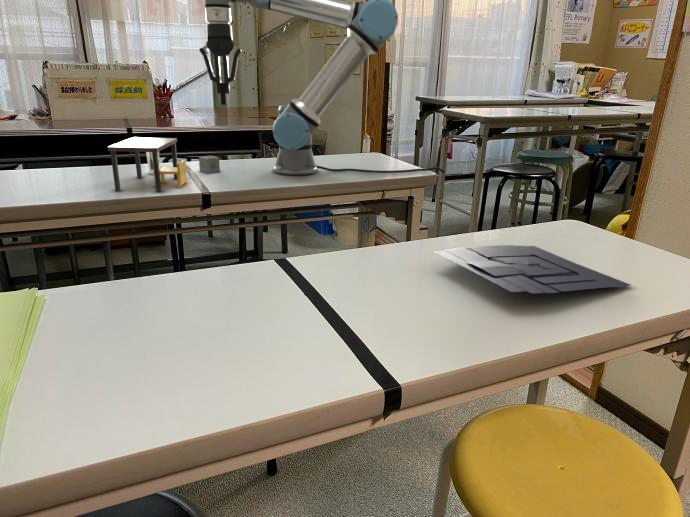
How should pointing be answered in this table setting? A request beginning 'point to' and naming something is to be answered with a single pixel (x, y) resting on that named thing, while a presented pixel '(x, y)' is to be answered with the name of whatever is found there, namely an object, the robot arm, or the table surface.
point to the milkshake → (150, 161)
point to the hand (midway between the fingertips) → (224, 104)
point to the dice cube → (209, 164)
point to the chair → (178, 170)
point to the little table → (139, 146)
